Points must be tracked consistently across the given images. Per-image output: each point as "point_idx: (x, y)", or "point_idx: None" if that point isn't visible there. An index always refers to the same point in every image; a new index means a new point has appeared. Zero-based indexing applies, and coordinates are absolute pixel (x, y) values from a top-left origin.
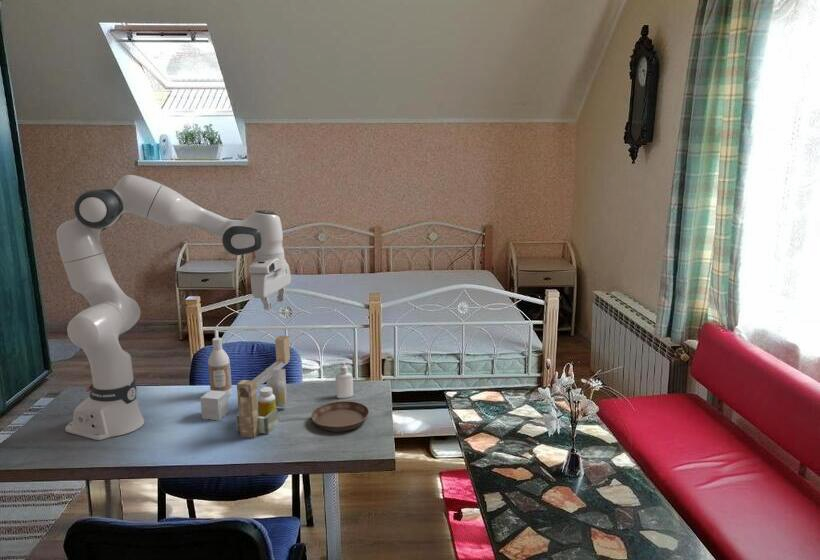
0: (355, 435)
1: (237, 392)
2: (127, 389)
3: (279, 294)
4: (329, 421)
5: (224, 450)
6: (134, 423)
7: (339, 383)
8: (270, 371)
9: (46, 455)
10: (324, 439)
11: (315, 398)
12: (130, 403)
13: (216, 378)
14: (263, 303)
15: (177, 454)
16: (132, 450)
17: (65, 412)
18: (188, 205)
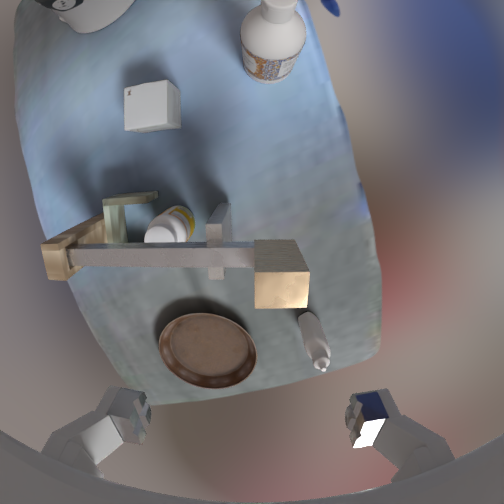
0: None
1: (53, 237)
2: (49, 2)
3: (390, 431)
4: (198, 333)
5: (65, 212)
6: (85, 26)
7: (302, 338)
8: (162, 266)
9: (33, 9)
10: (145, 340)
11: None
12: (69, 10)
13: (242, 51)
14: (88, 417)
15: (41, 152)
16: (41, 82)
17: None
18: None
